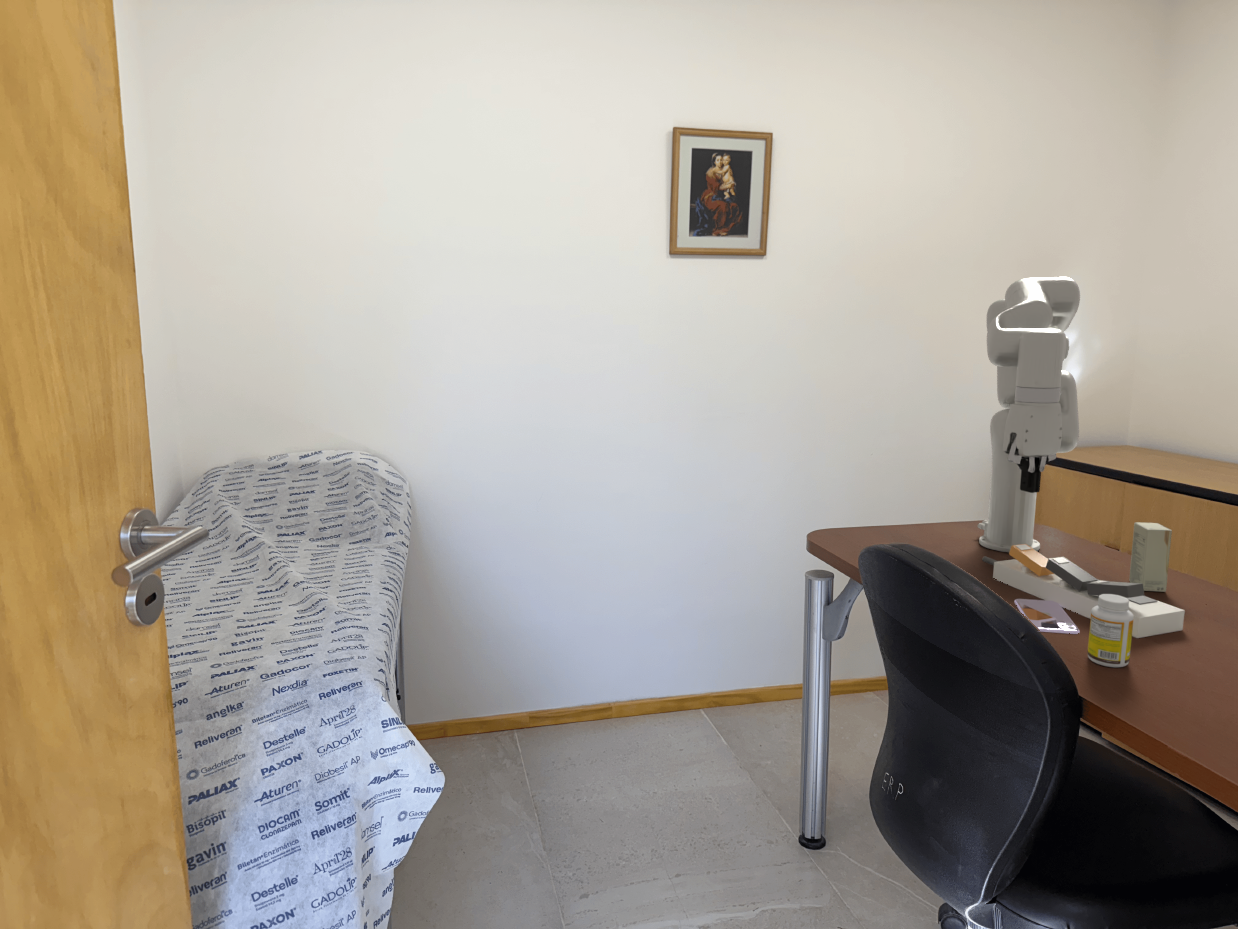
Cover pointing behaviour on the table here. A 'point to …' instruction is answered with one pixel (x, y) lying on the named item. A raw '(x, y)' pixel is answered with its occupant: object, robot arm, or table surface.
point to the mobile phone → (1047, 616)
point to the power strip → (1088, 598)
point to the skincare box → (1150, 556)
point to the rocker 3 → (1115, 588)
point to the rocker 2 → (1070, 573)
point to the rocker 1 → (1030, 559)
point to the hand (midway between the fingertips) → (1029, 491)
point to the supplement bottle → (1110, 631)
